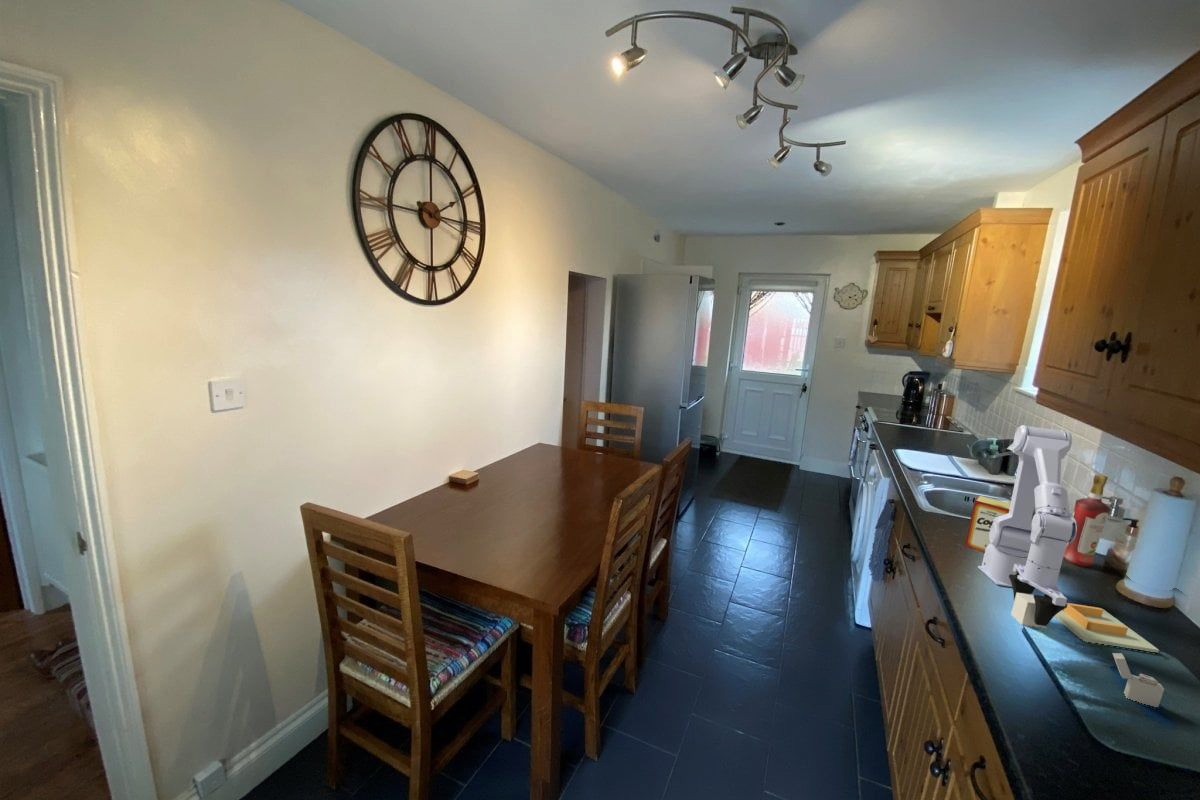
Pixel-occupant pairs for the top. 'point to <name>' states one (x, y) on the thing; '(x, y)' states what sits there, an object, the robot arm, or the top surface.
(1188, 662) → the top surface
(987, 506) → the baking soda box
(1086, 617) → the deck
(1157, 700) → the lighter
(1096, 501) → the liquor
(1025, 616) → the chute block
